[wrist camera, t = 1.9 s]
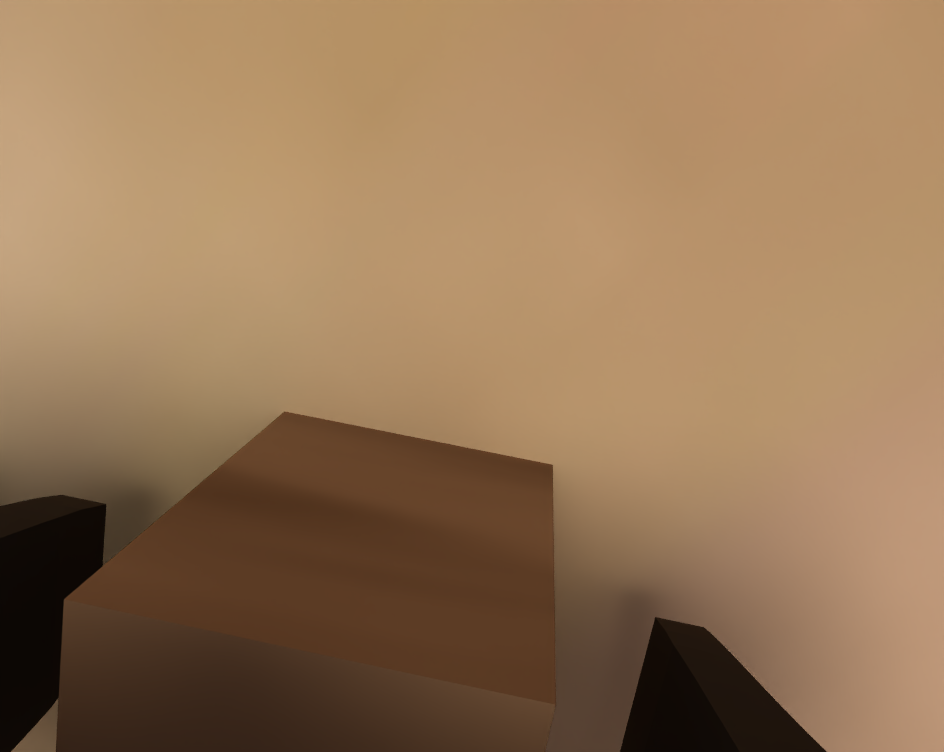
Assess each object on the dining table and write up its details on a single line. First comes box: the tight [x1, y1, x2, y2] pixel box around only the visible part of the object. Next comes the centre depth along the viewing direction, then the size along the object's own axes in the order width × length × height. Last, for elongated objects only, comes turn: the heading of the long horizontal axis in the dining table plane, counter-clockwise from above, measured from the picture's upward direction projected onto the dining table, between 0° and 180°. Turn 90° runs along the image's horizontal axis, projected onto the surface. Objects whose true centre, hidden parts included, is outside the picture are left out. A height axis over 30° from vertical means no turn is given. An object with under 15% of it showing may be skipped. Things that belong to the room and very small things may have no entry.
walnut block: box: [56, 412, 556, 752], centre depth 9 cm, size 4×4×6 cm
